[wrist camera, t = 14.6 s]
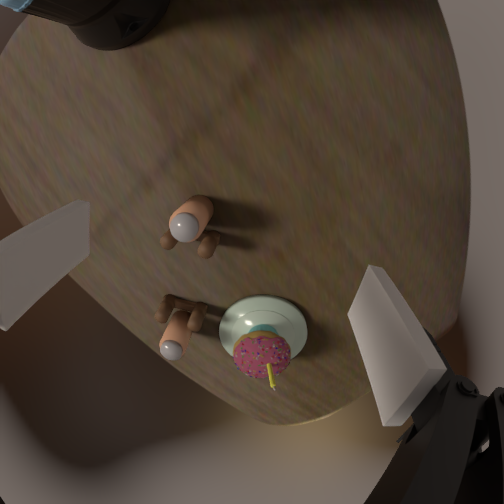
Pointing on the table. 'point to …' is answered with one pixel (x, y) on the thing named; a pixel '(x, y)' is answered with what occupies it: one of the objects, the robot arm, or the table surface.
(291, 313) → the plate
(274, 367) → the cupcake
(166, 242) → the rack
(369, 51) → the table surface
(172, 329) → the shaker
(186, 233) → the shaker
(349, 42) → the table surface
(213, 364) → the table surface
